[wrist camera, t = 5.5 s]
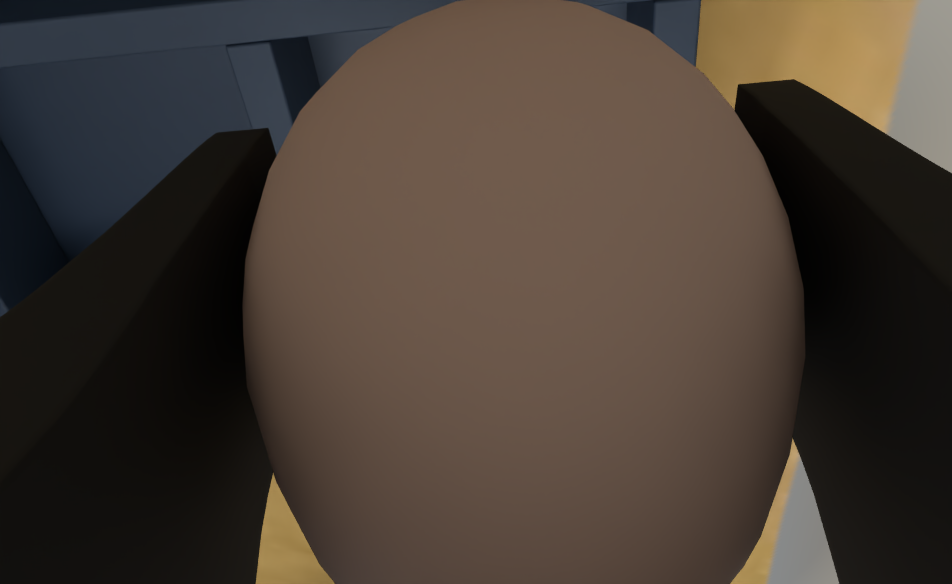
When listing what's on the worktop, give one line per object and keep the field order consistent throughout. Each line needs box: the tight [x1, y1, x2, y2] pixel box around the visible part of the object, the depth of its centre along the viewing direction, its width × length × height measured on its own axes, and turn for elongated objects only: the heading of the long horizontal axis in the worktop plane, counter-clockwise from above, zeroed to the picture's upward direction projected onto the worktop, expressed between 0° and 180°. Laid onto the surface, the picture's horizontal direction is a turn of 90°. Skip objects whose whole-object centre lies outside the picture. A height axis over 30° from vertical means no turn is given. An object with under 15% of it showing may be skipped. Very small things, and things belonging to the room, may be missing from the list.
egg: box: [242, 0, 805, 584], centre depth 8 cm, size 5×5×7 cm
